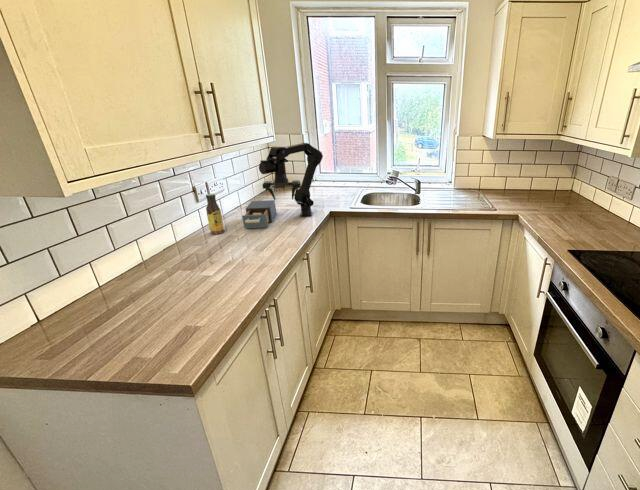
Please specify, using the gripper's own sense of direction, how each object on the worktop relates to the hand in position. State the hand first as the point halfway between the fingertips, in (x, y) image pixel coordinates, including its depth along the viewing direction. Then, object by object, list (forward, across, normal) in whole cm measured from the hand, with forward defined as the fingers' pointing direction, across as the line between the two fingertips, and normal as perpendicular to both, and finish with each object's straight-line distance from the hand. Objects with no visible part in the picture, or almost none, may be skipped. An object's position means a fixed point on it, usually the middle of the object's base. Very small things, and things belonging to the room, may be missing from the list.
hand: (283, 199), depth 172 cm
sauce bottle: (+13, -32, -12) cm, 36 cm away
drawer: (+12, -14, -6) cm, 19 cm away
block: (+10, -14, -4) cm, 18 cm away
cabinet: (+12, -14, +7) cm, 20 cm away
